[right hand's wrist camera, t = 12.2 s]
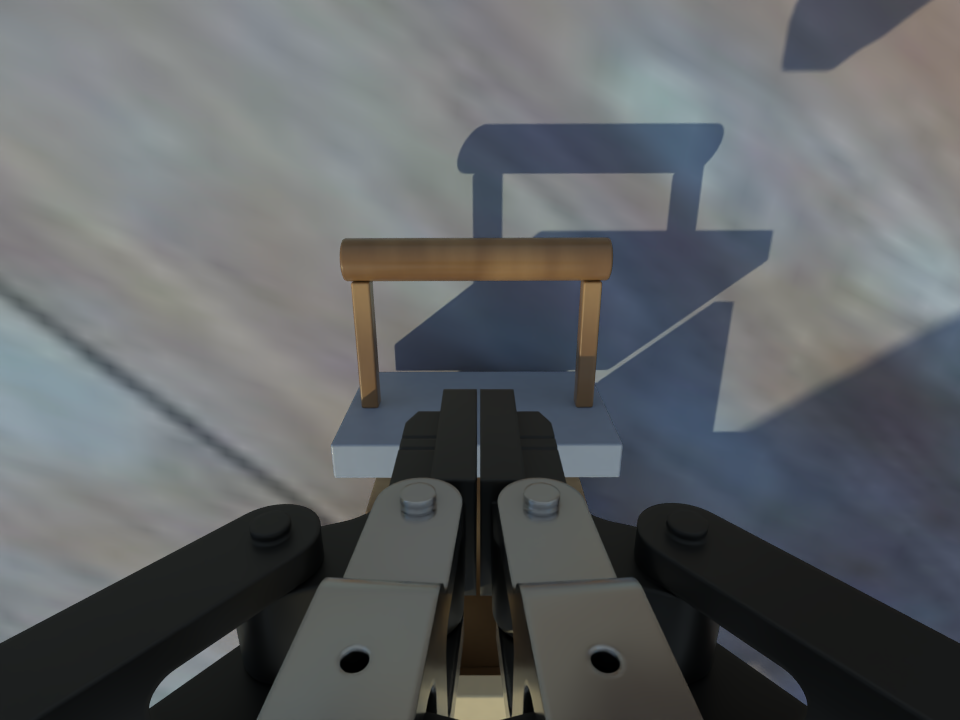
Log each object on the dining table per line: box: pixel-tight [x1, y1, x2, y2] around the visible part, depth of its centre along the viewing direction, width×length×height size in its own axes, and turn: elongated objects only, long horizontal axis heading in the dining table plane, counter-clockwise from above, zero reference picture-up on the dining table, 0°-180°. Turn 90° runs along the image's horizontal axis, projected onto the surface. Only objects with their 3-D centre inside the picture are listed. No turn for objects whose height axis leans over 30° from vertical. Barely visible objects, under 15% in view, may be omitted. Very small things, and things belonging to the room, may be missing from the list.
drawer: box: [331, 238, 623, 675], centre depth 22 cm, size 21×9×6 cm, turn 0°
